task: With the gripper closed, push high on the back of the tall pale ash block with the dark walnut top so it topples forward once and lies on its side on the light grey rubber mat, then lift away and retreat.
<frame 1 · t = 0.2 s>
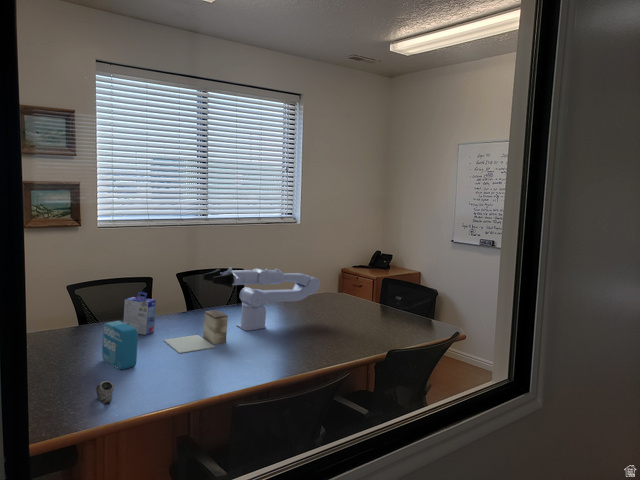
hand: (208, 278, 175), 21 cm above the table, tool horizontal, fingers open, 7 cm apart
ink cartridge box: (138, 332, 173), on the table
data package: (118, 364, 143), on the table
ash block: (214, 340, 171), on the table
mat: (189, 344, 164), on the table
grey stone mug: (104, 400, 119), on the table
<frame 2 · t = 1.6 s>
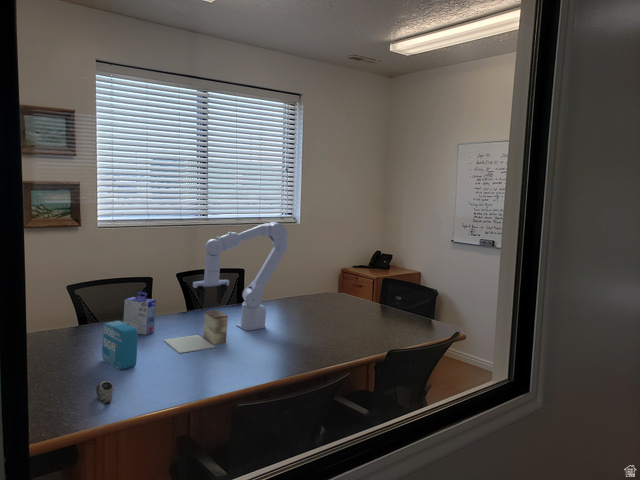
hand: (210, 304, 183), 9 cm above the table, tool pointing down, fingers open, 7 cm apart
nothing on the table moved.
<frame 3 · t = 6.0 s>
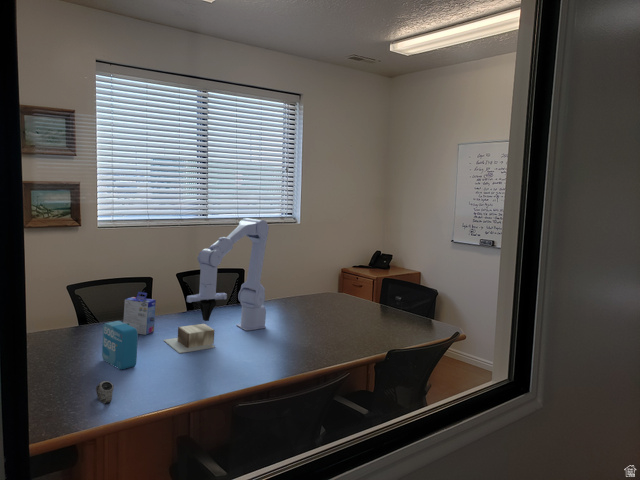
hand: (205, 320, 167), 8 cm above the table, tool pointing down, fingers closed
ash block: (209, 333, 169), point 3 cm above the table, tilted 90°, touching mat
everything else where it was.
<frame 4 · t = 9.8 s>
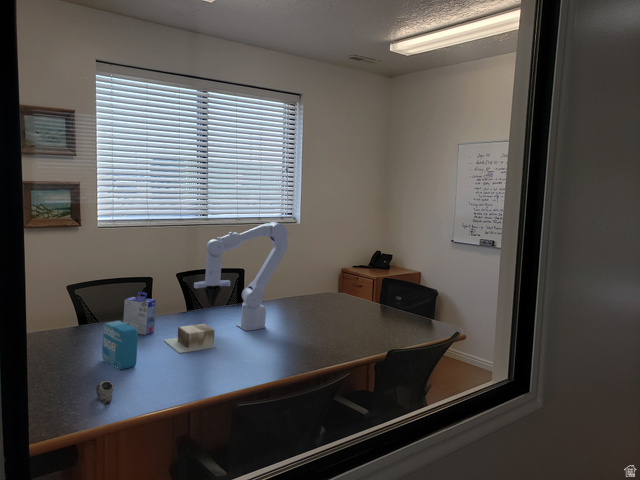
hand: (211, 304, 182), 9 cm above the table, tool pointing down, fingers closed
nothing on the table moved.
at the end: ash block tilted 90°; ash block inside the target area (4.1 cm from its centre), point 2.8 cm above the table; ash block touching mat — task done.
